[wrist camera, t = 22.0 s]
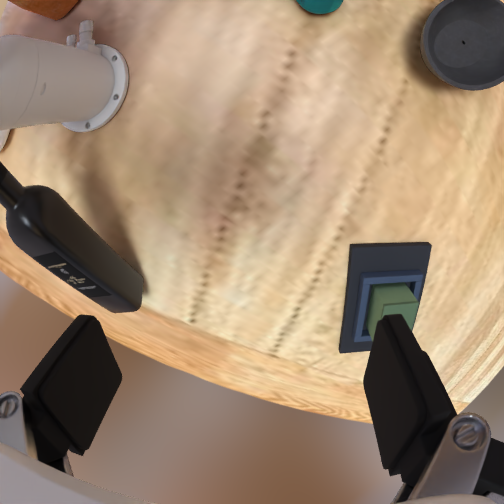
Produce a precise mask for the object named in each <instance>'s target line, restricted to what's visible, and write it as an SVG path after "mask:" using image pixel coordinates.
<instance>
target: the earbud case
mask: <svg viewBox="0 0 504 504" xmlns="http://www.w3.org/2000/svg"><path fill="white" fill-rule="evenodd" d="M9 132H10V129H8V130H1V131H0V151H1V150H2V148H3V147H4V145H5V143H6V140H7V137H8V135H9Z"/></svg>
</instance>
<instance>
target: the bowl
mask: <svg viewBox="0 0 504 504" xmlns="http://www.w3.org/2000/svg"><path fill="white" fill-rule="evenodd" d="M420 50H421V55H422V58H423V61H424V63H425V64H426V66H427V67H428V69H429V70H430V71H431V72H432V73H433V74H434V75H435V76H436V77H438V78H439V79H440V80H442V81H444V82H445V83H448V84H450V85H452V86H455V87H457V88H460V89H464V90H483V89H487V88H491V87H493V86H496V85H498V84H500V83H501V82H503V81H504V3H503V2H501V1H500V0H444V1H442V2H441V3H440V4H439V5H438V6H437V7H435V9H434V10H433V11H432V12H431V14H430V15H429V17H428V19H427V21H426V23H425V25H424V27H423V30H422V34H421V39H420Z"/></svg>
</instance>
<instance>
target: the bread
mask: <svg viewBox="0 0 504 504" xmlns="http://www.w3.org/2000/svg"><path fill="white" fill-rule="evenodd" d="M8 1H10V2H12V3H14V4H15V5H17V6H19V7H21V8H22V9H25V10H28V11H31V12H33V13H36V14H39V15H42V16H45V17H48V18H51V19H53V20H58V19H61V18H62V17H64V16H65V15H66V14H67V13H68V12H69V11H70V10H71V9H72V7H73V6H74V5H75V4H76V3H77V2H78V1H79V0H8Z"/></svg>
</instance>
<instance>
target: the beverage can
mask: <svg viewBox="0 0 504 504" xmlns="http://www.w3.org/2000/svg"><path fill="white" fill-rule="evenodd" d="M296 1H297V2H298V3H299V4H300V6H301V7H303V8H304V9H305V10H307V11H309V12H311V13H315V14H325V13H330V12H333V11H335V10H336V9H338V8H339V7H340V5H341V4H342V2H343V0H296Z"/></svg>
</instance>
